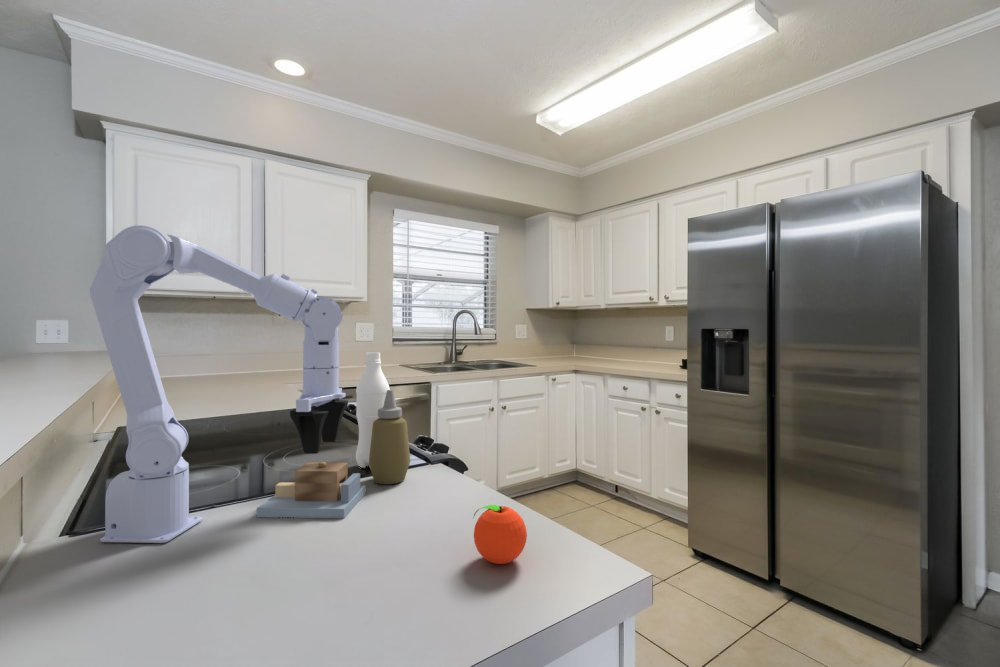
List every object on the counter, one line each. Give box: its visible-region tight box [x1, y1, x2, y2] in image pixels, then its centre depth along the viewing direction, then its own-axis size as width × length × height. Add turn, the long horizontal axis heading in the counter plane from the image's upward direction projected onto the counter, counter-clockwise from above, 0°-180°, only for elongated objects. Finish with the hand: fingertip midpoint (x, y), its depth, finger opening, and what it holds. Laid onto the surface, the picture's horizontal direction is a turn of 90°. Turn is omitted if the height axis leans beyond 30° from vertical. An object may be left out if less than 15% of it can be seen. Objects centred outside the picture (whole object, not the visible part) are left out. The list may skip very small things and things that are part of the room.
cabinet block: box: [294, 461, 349, 502], centre depth 78 cm, size 7×5×6 cm
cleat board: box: [256, 472, 366, 519], centre depth 78 cm, size 14×11×4 cm
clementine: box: [472, 504, 528, 565], centre depth 60 cm, size 8×7×7 cm
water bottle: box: [355, 351, 391, 468], centre depth 100 cm, size 7×7×25 cm
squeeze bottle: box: [368, 389, 411, 485], centre depth 91 cm, size 8×8×18 cm
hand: (320, 447), depth 78 cm, fingers open, 7 cm apart
